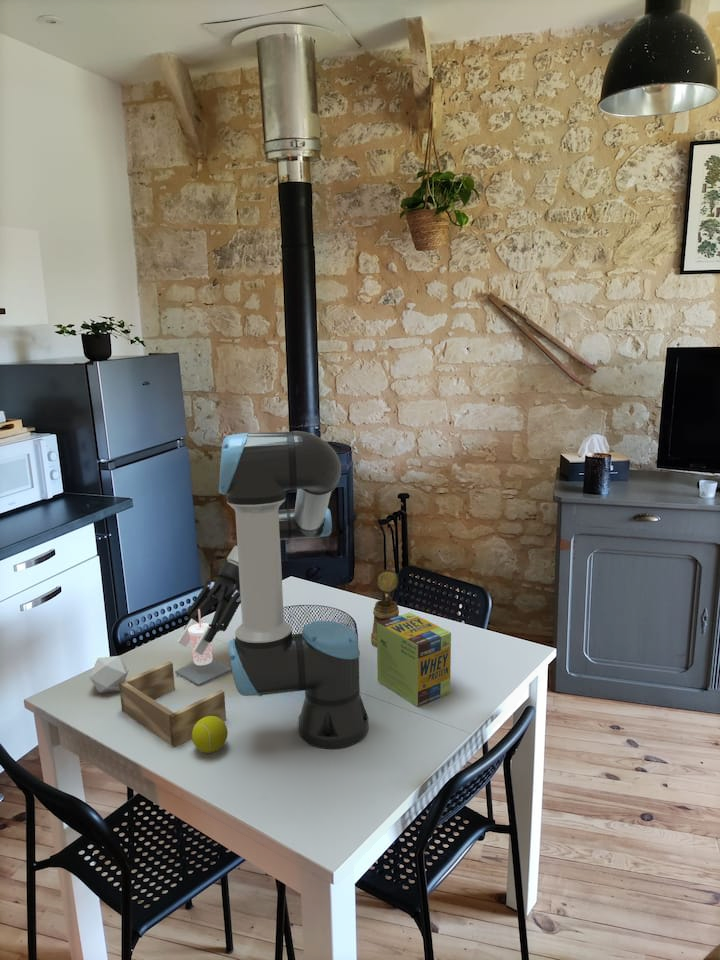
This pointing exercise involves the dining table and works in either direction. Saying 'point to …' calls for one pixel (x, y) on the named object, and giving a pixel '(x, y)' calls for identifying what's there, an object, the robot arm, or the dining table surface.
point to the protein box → (414, 658)
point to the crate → (157, 717)
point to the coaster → (203, 672)
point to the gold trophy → (385, 601)
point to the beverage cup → (195, 635)
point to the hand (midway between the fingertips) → (189, 648)
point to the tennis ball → (209, 734)
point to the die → (108, 674)
